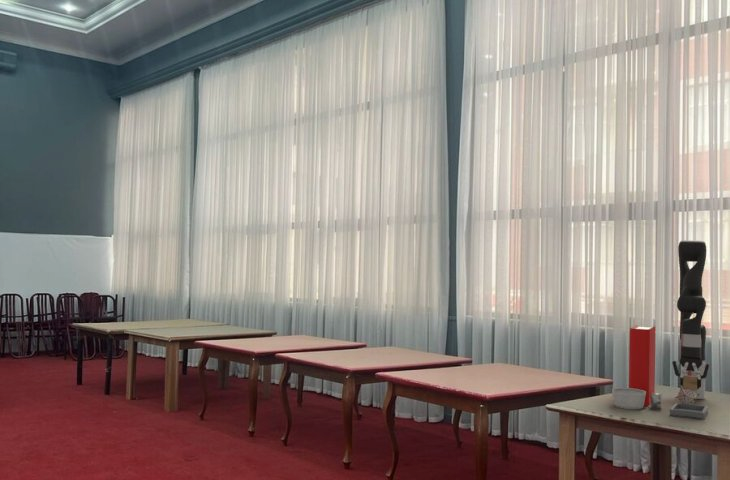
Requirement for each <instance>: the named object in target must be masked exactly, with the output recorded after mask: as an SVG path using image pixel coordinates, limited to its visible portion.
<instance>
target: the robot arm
mask: <svg viewBox="0 0 730 480" xmlns="http://www.w3.org/2000/svg"><path fill="white" fill-rule="evenodd" d="M677 253H678V266H679V297H678V299H677V302H676V307H677V310H678V312H680V319H679V322H680V323H679V339H680V358H679V359H678V360H673V361H672V366H673V370H674V375H675V376H676V377H679V381H680V382H679V385H680V386H681V388H683V376H684V375H688V376H697V378H698V379H697V389H698V390H693V391H694V392H695V393H696V394H700V395H698V396H697V398H696V400H705V396H706V395H705V394H706V379H707V376H708V372H709V368H710V366H711V364H710V363H706V340H707V328H706V326H705V325H704V324H702V321H703V316H704V313H705V310H706V307H707V302H706V298H705V297H703V286H702V284H703V281H702V280H703V275H704V274H703V273H704V271H705V265H706V260H707V244H706V242H705V241H703V240H691V239H689V240H681V241H679V243H678V247H677ZM688 262H691V263H693V262H694V263H695V264H694V265H693V266H692V267H690V266H689V263H688ZM693 314H695V316H694V317H692V315H693ZM691 317H692V318H691ZM679 365H681V366H682V370H681V373H680V372H679Z"/></svg>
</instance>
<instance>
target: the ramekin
mask: <svg viewBox="0 0 730 480" xmlns="http://www.w3.org/2000/svg"><path fill="white" fill-rule="evenodd" d="M611 392H612V401H613V404H614V406H615V408H620V409H623V408H624V409H625V410H642V409H644V407H645V406H644V402H645V395H646V391H644V390H639V389H633V388H629V387H614V388H612V389H611Z"/></svg>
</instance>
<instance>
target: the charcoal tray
mask: <svg viewBox="0 0 730 480" xmlns="http://www.w3.org/2000/svg"><path fill="white" fill-rule="evenodd" d="M708 413H709V406H708V405H700V404H695V405H693V404H684V403H682V402H681V403H680V402H675V403H674V405H672V406H671V408H670V409H669V416H670V417H677V418H685V419H686V418H687V419H695V420H701V421H702V420H705V419H706V417H707V415H708Z"/></svg>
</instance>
